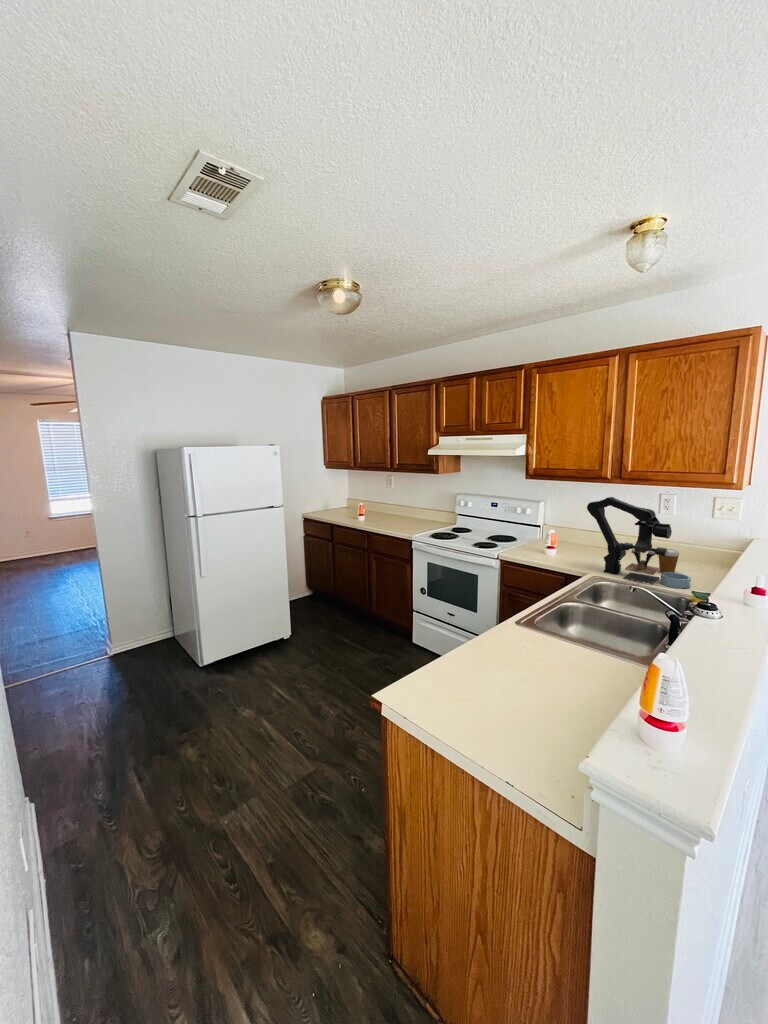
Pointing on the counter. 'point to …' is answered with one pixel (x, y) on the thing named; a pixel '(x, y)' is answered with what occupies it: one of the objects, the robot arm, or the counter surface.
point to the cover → (642, 568)
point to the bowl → (675, 580)
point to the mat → (641, 578)
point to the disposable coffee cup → (668, 561)
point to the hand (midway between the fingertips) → (642, 565)
